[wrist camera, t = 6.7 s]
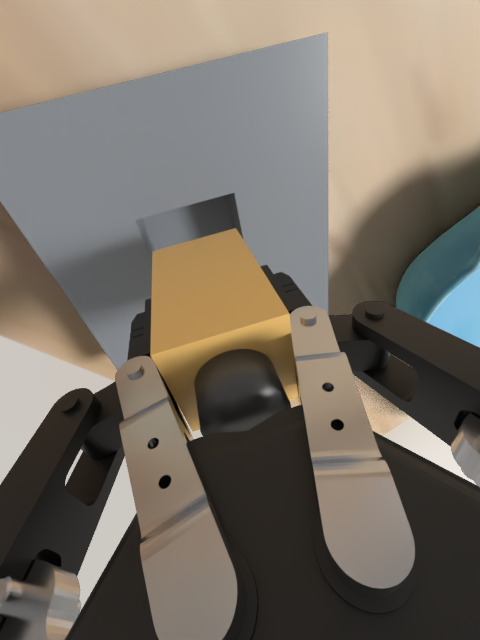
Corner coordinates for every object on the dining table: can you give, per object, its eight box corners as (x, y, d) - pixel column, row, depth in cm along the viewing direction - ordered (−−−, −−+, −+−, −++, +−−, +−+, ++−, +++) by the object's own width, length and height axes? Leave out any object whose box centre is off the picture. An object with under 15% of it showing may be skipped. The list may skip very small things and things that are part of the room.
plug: (235, 228, 14) (311, 348, 7) (250, 297, 16) (315, 434, 10) (152, 251, 13) (149, 399, 7) (180, 317, 16) (197, 473, 9)
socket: (293, 45, 16) (327, 32, 12) (307, 291, 26) (328, 317, 22) (-9, 120, 15) (-53, 125, 12) (128, 344, 25) (124, 380, 22)
